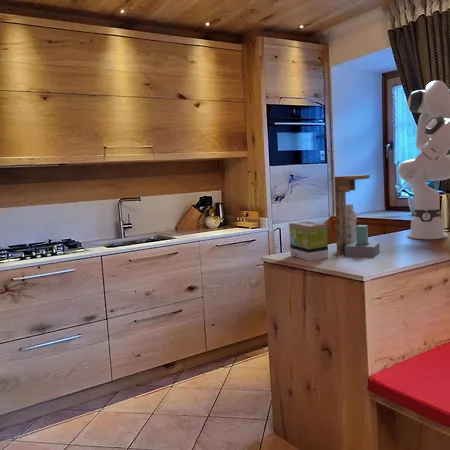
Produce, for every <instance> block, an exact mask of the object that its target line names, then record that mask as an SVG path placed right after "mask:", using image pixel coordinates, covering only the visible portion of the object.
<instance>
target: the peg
mask: <svg viewBox="0 0 450 450" xmlns="http://www.w3.org/2000/svg"><path fill="white" fill-rule="evenodd" d="M356 238H357V245H368V242H369V225H368V224H367V225H366V224H358V225H356Z"/></svg>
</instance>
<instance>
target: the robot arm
mask: <svg viewBox="0 0 450 450" xmlns="http://www.w3.org/2000/svg"><path fill="white" fill-rule="evenodd" d="M407 106H408V110H409V111H410V112H411V113H414V114H416V113H417V114H418V113H420V115H419V117H418V122H417V127H416V140H415V141H416V143H415V147H416V149H417V150H418V151H419V152H420V153H419V154H418V155H417V156H416V157H415V158H413V159H408V160H407V159H406V160H404V161H402V162H401V164H400V165H399V168H398V173H399V174H398V175H399V177H400V178H401V179H402V180H403V181H404V182H406V184H408V185H409V186H410V188H411V189H412V192H413V197H414V210H413V216H414V218H413V219H412V220H410V233H409V234H407V236H406V237H407V238H411V239H416V240H441V239H449V238H450V237H449V235H448V234H447V233H446V232H445V230H446V229H445V221H444V220H443V218H442V217H441V214H442V212H441V211H442V210H441V208H440V202H441V201H440V192H439V191H437V189H434V188H433V187H430V186H428V185H427V183H426V182H428V181H429V182H433V181H445V180H448V179H450V89H449V87H448V86H447V85H446V83H445V82H443V81H442V80H432V81H431V82H429V83H428V84H427V85H426V86H425V88H424V89H421V90H420V89H418V90H415V91H412V92H411V93H410V95H409V97H408V98H407ZM448 155H449V156H448Z"/></svg>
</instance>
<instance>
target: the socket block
mask: <svg viewBox="0 0 450 450" xmlns="http://www.w3.org/2000/svg"><path fill="white" fill-rule="evenodd" d="M380 251H381V250H380V242H379V241H368V245H357V242H350V243H349V244H347V245H346V246H345V252H344V256H351V257H372V256H374V257H376V255H378V254H379V253H380Z"/></svg>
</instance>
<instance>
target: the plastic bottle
mask: <svg viewBox="0 0 450 450" xmlns="http://www.w3.org/2000/svg"><path fill="white" fill-rule="evenodd" d="M357 217H358V216H357V214H356V212H355V211H354V204H346V226H347V244H349V243H350V242H357V238H356V226H357Z"/></svg>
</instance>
